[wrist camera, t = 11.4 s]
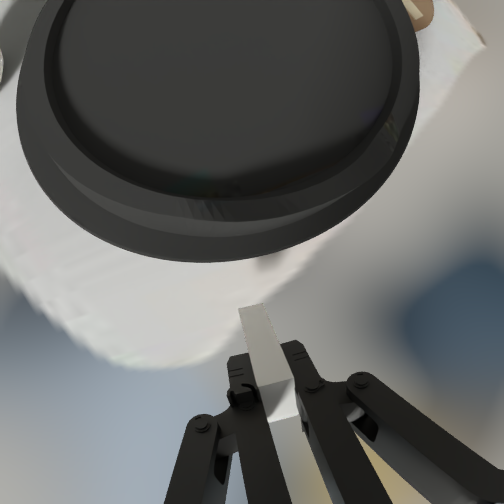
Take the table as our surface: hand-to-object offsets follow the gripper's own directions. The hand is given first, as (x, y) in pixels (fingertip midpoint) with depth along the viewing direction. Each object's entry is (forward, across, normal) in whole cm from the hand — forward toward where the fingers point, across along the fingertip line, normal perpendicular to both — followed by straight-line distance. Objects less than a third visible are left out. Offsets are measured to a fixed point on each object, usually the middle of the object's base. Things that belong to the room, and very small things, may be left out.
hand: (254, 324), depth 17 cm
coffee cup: (+4, 0, +12) cm, 13 cm away
